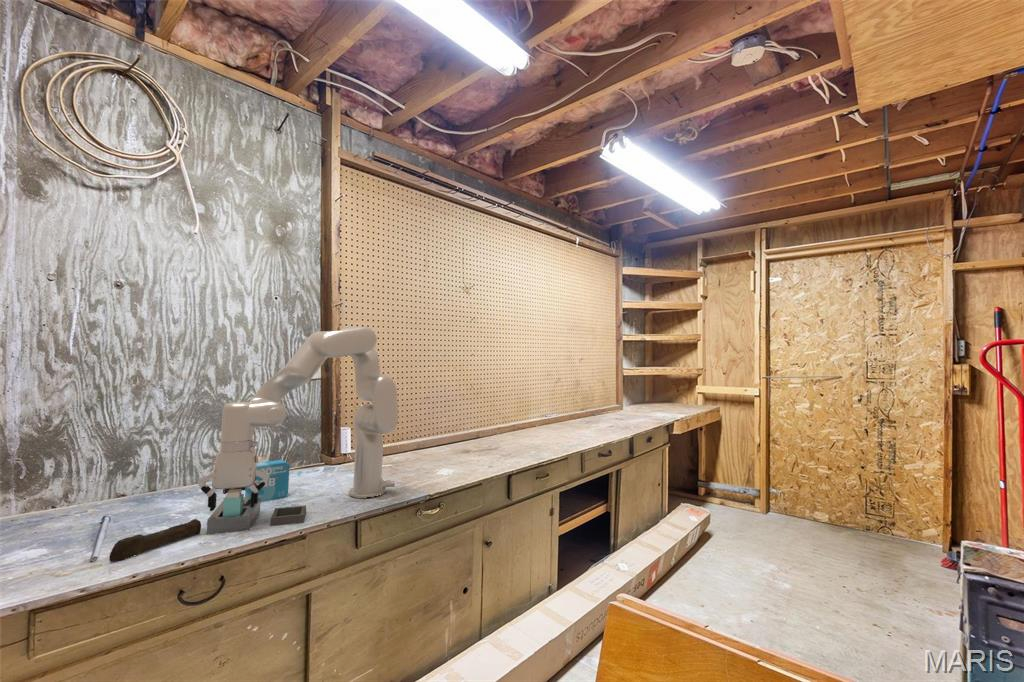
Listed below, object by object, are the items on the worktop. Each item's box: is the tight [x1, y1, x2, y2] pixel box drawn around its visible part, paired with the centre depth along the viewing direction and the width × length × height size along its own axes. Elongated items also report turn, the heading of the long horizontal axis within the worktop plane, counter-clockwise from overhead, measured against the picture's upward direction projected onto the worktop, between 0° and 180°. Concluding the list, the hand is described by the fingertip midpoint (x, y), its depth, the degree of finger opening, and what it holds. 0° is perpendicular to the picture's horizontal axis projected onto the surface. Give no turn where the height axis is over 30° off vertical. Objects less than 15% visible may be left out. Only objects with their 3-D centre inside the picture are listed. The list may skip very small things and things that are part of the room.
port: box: [206, 496, 262, 535], centre depth 124 cm, size 10×16×5 cm, turn 21°
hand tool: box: [108, 518, 202, 562], centre depth 107 cm, size 19×4×5 cm, turn 155°
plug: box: [223, 489, 245, 517], centre depth 120 cm, size 4×4×10 cm
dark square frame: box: [269, 505, 307, 527], centre depth 127 cm, size 8×8×2 cm
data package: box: [244, 459, 290, 503], centre depth 144 cm, size 12×4×12 cm, turn 134°
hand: (233, 507), depth 120 cm, fingers open, 9 cm apart
